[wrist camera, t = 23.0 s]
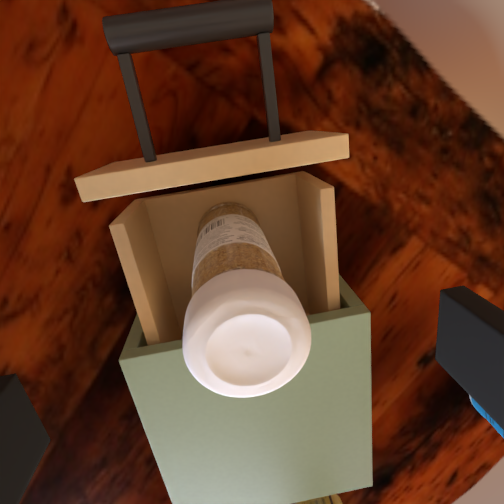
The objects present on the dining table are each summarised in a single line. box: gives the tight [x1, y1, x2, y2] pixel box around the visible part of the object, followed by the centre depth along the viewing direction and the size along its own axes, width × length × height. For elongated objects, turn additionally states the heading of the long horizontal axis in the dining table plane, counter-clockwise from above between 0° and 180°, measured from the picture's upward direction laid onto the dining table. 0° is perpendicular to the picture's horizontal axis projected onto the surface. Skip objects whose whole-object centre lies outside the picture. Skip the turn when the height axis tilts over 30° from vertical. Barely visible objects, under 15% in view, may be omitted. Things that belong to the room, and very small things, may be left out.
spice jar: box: [182, 202, 311, 398], centre depth 17 cm, size 5×5×14 cm
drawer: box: [74, 0, 349, 346], centre depth 21 cm, size 21×14×7 cm, turn 8°
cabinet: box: [119, 275, 372, 504], centre depth 26 cm, size 16×15×9 cm
